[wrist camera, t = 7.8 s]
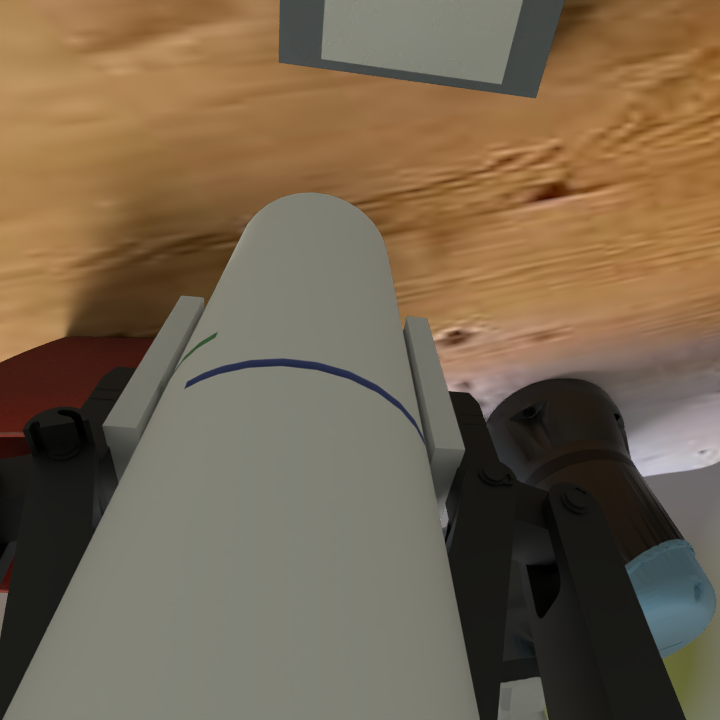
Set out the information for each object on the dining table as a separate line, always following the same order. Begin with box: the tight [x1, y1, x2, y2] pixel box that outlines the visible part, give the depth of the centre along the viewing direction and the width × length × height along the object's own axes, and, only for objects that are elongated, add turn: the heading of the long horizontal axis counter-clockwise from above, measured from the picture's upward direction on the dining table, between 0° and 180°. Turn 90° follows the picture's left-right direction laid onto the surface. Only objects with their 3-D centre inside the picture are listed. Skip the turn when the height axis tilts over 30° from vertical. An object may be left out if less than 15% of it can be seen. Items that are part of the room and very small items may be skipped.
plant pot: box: [0, 337, 155, 593], centre depth 43 cm, size 19×19×17 cm
